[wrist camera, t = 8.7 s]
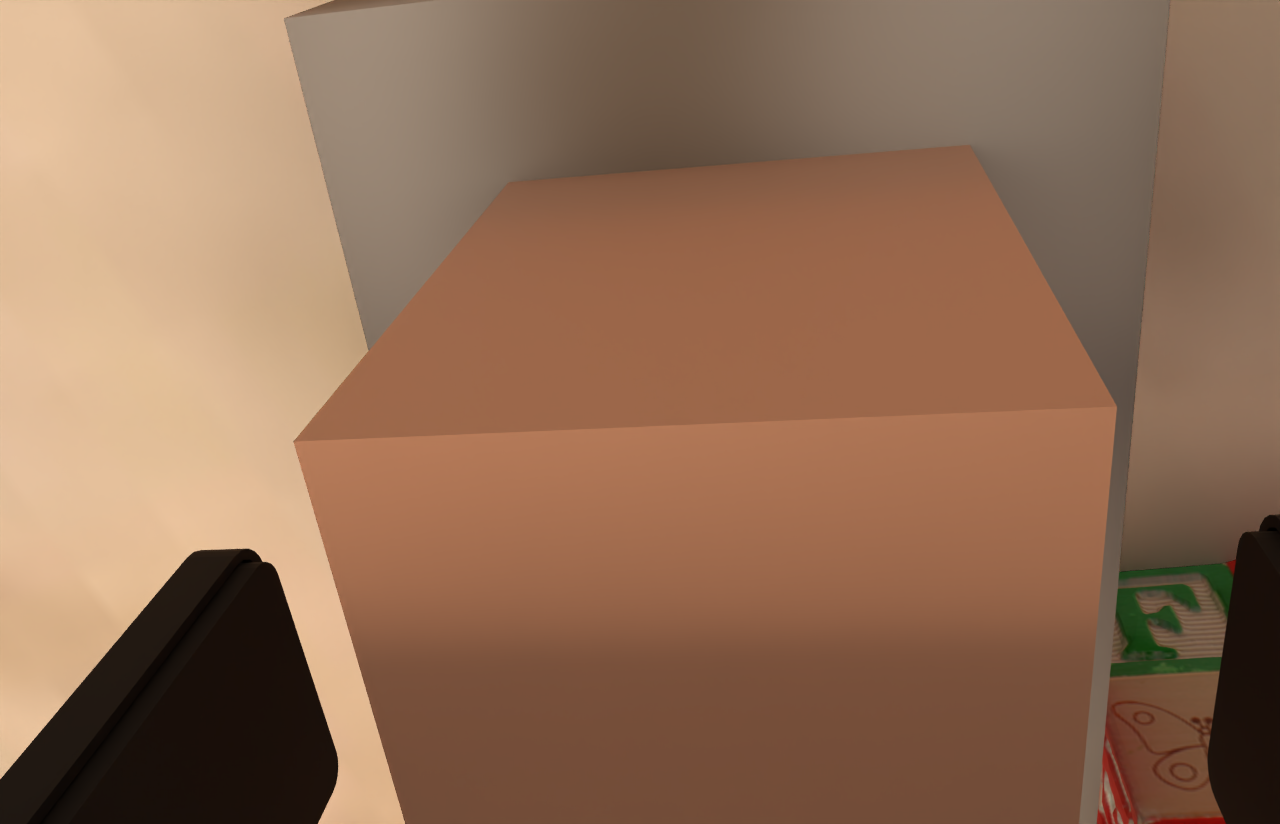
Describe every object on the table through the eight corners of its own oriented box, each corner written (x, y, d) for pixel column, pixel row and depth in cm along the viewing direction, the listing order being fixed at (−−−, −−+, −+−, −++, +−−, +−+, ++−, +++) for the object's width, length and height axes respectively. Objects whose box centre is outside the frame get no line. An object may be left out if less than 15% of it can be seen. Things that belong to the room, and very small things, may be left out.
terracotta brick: (970, 144, 12) (1117, 406, 6) (958, 724, 15) (1044, 1200, 10) (507, 181, 12) (294, 441, 7) (601, 723, 16) (504, 1163, 11)
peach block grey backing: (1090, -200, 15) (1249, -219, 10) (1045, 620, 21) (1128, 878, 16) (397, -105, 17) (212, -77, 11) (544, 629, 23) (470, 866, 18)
